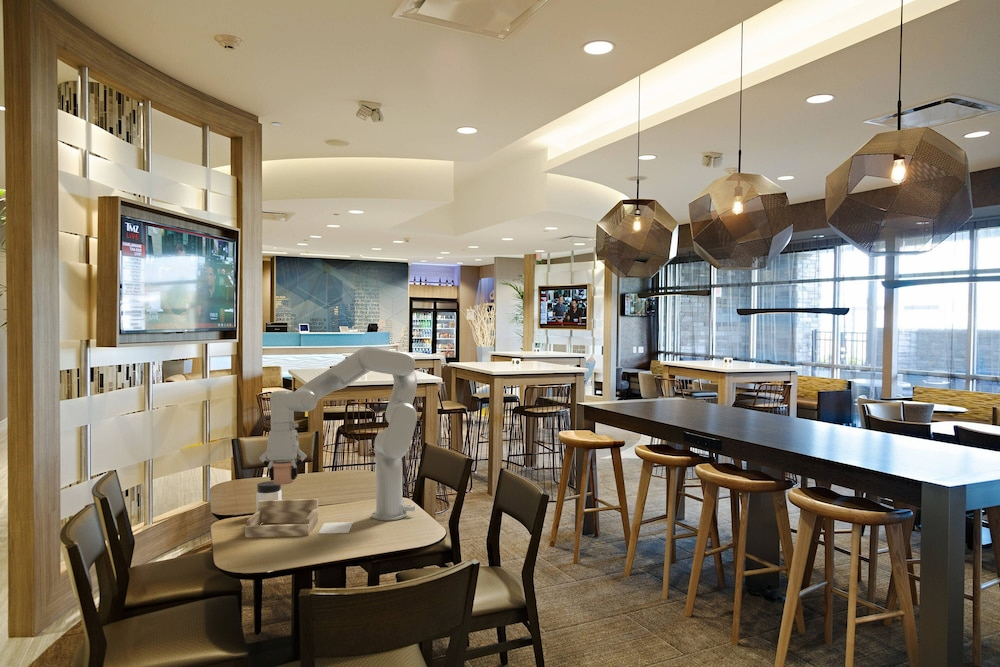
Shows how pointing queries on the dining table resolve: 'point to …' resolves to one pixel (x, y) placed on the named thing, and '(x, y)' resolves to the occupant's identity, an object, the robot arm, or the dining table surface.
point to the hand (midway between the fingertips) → (283, 478)
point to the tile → (336, 528)
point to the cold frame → (283, 518)
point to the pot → (282, 472)
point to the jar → (268, 491)
